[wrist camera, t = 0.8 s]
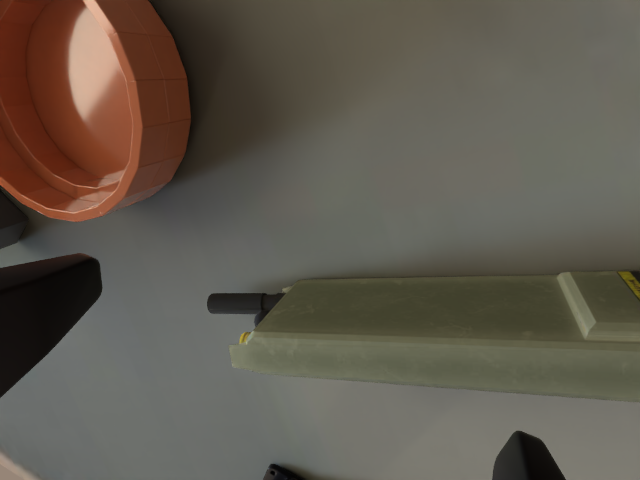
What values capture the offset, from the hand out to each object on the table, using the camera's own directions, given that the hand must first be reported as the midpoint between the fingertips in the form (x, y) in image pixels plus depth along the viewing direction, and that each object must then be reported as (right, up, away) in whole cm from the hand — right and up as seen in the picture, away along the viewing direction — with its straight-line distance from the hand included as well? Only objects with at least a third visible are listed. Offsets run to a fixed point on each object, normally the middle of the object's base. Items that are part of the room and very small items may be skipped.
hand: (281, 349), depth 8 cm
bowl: (-12, +11, +17) cm, 23 cm away
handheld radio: (+6, -1, +15) cm, 16 cm away
